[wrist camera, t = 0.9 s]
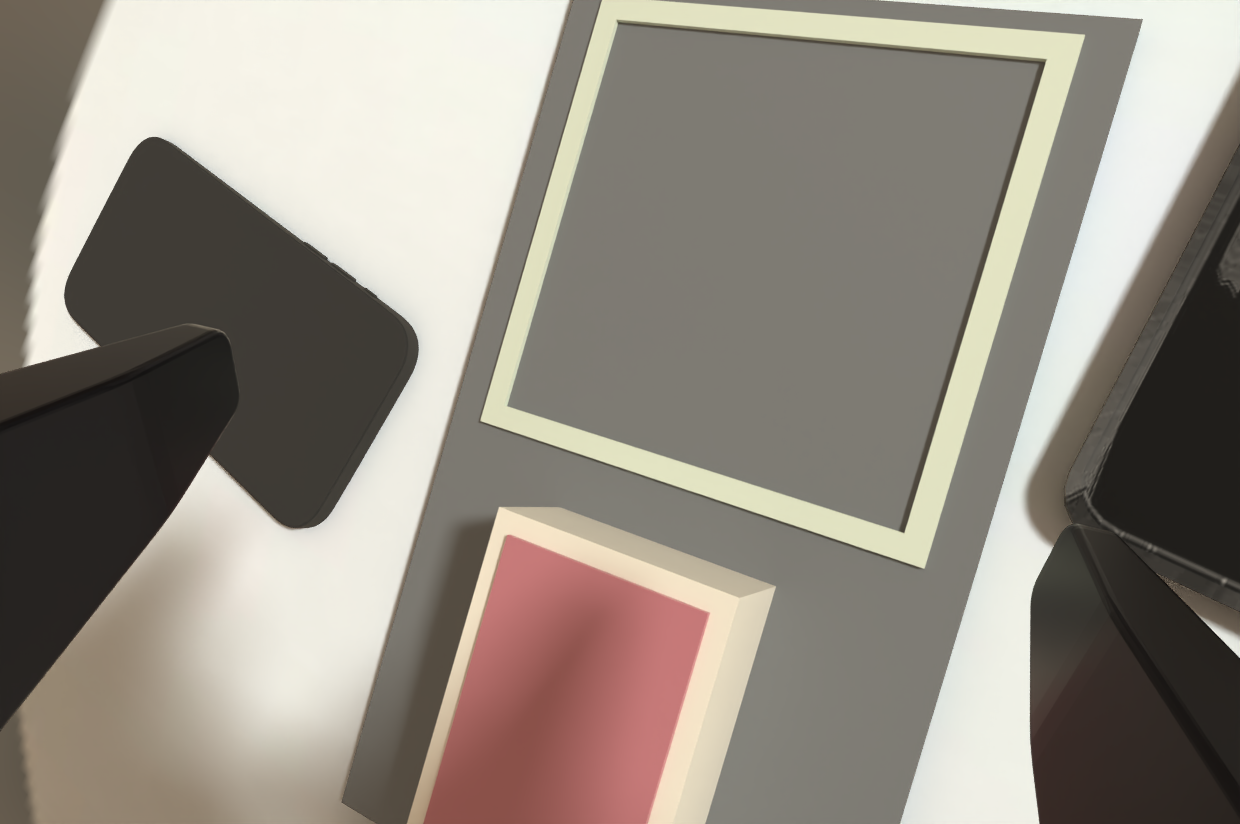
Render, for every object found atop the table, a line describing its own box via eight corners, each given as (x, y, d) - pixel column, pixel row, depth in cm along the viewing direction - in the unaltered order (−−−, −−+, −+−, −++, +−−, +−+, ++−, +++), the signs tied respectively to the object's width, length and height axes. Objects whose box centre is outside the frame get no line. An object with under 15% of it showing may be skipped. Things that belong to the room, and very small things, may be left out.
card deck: (667, 951, 21) (612, 1022, 18) (464, 833, 23) (387, 879, 21) (775, 586, 21) (737, 598, 18) (559, 507, 23) (495, 507, 20)
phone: (145, 123, 32) (422, 333, 25) (166, 132, 32) (439, 339, 26) (53, 302, 33) (299, 545, 27) (75, 307, 33) (318, 544, 27)
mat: (822, 1079, 20) (817, 1094, 19) (351, 798, 25) (337, 803, 25) (1140, 28, 19) (1143, 15, 19) (585, -14, 25) (576, -25, 24)
